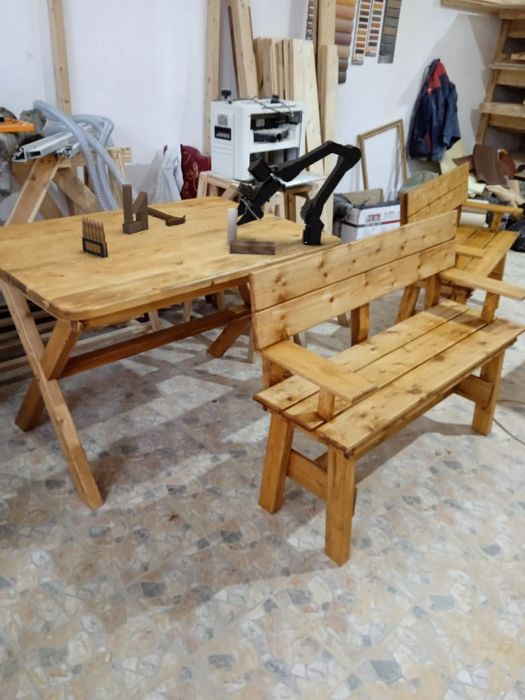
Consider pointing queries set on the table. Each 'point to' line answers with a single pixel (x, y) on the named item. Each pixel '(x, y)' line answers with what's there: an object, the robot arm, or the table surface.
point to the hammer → (167, 217)
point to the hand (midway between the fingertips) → (234, 221)
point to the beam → (252, 247)
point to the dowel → (232, 224)
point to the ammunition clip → (94, 238)
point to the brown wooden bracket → (134, 210)
